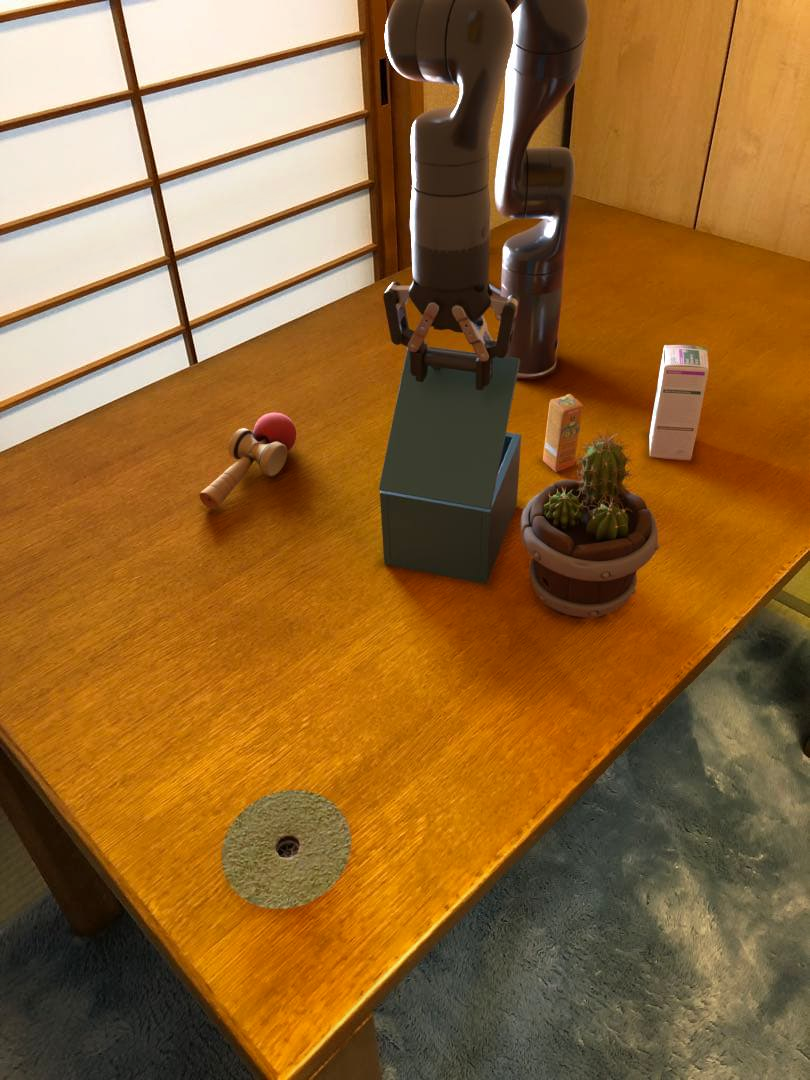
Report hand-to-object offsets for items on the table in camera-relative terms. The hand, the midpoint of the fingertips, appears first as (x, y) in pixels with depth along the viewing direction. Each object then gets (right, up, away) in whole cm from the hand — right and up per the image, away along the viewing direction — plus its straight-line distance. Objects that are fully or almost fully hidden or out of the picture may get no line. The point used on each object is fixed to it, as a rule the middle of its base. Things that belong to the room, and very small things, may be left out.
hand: (451, 381), depth 95 cm
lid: (0, -4, +3) cm, 5 cm away
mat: (-15, -45, -17) cm, 51 cm away
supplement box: (+16, -7, +26) cm, 31 cm away
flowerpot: (+15, -23, +7) cm, 29 cm away
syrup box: (+32, -4, +28) cm, 43 cm away
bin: (+1, -16, +15) cm, 22 cm away
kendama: (-26, -8, +26) cm, 38 cm away
